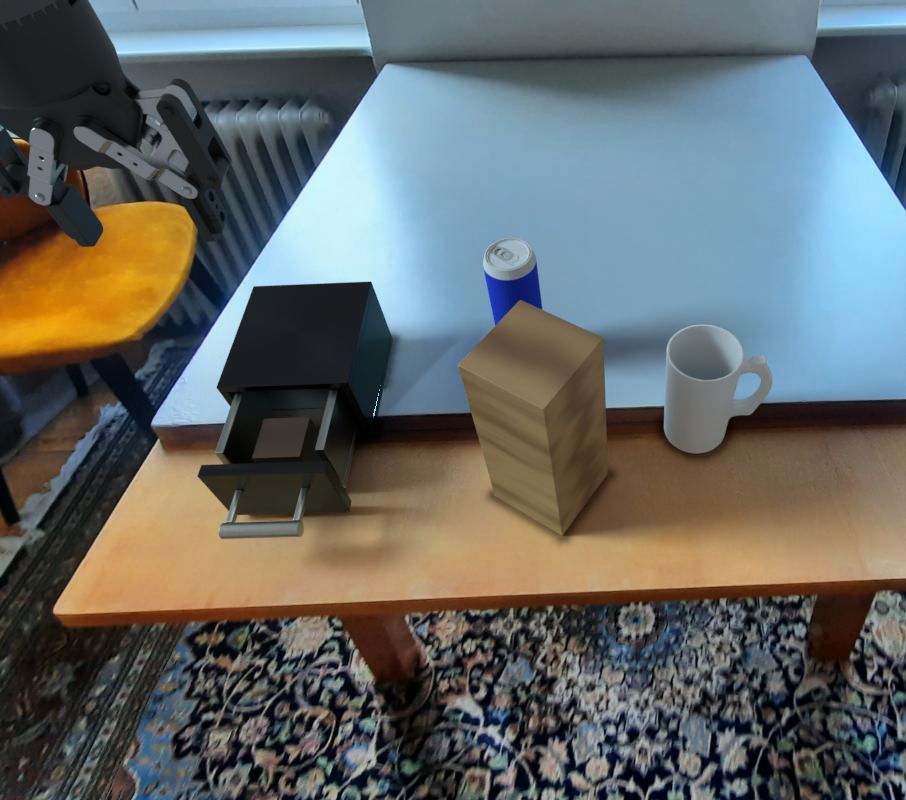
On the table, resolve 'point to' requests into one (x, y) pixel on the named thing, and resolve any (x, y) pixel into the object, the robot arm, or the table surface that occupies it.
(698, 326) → the mug
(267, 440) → the block
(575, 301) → the table surface
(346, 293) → the black drawer cabinet
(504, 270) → the beverage can
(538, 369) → the stand
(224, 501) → the drawer
